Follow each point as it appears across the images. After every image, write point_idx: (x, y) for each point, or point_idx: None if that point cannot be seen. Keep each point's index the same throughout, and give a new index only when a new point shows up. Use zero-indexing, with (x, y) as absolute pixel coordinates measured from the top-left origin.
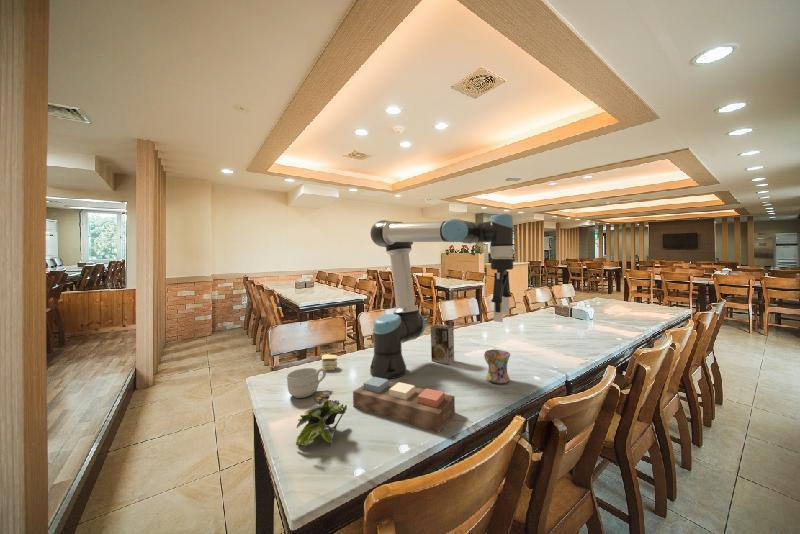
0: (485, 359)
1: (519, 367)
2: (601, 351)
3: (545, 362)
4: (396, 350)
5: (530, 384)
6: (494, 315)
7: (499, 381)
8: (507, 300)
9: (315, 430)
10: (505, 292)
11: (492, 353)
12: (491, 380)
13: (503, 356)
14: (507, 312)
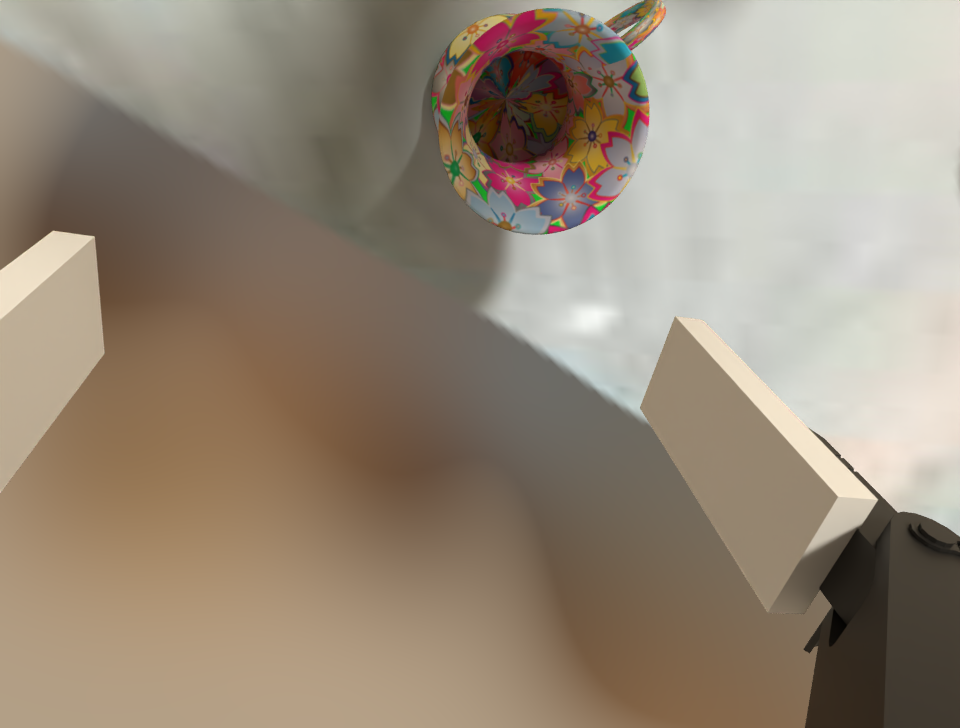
0: (629, 8)
1: (740, 236)
2: None
3: (820, 373)
4: None
5: (488, 284)
6: (6, 276)
7: (434, 112)
8: (749, 544)
9: None
10: (838, 670)
11: (614, 80)
12: (443, 55)
13: (587, 171)
14: (657, 409)
